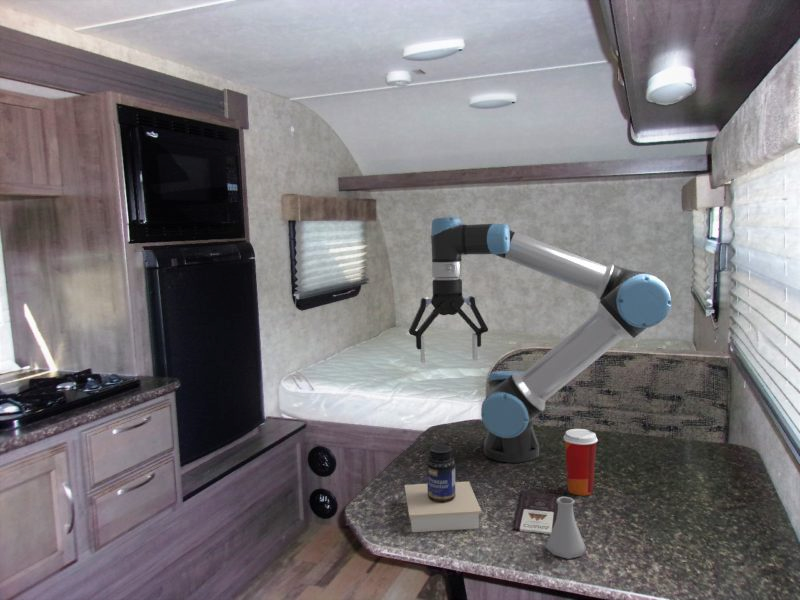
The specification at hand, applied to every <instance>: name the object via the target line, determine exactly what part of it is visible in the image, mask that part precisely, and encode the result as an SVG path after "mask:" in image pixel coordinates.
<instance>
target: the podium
mask: <svg viewBox="0 0 800 600" xmlns="http://www.w3.org/2000/svg"><path fill="white" fill-rule="evenodd" d="M404 490H405V491H404V492H405V499H406V505H407V511H408V517H409V521H410V528H411V533H425V532H427V533H428V532H439V531H440V532H441V531H458V530H473V529H474V530H477V529H480V514H482V509H481V507H480V504H479V502H478V500H477V497H476V495H475V493H474V490H473V488H472V485H471V483H470V481H455V494H456V495H455V498H454V499H453V500H452V501H448V502H435V501H432V500H430V499H429V497H428V485H427V483H417V484H416V483H415V484H404Z"/></svg>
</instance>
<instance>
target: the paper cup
mask: <svg viewBox="0 0 800 600" xmlns="http://www.w3.org/2000/svg"><path fill="white" fill-rule="evenodd" d="M563 440H564V448H565V462H566V463H565V467H566V479H567V482H566V483H567V490H568V492H569V493H570V494H573V495H575V496H579V497H580V496H581V497H582V496H583V497H586V496H587V497H588V496H590V495H592V494H593V492H594V491H593V490H594V480H595V468H596V467H595V466H596V449H597V442H599V441H598V440H599V439H598V438H597V435H596V432H593V431H591V430H589V429H585V428H571V429H568V430H566V431H565V434H564V435H563Z"/></svg>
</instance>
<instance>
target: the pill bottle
mask: <svg viewBox="0 0 800 600" xmlns="http://www.w3.org/2000/svg"><path fill="white" fill-rule="evenodd" d="M452 453H453V451H452V447H451V446H449V445H447V444H446V445H445V444H437V445H433V446H431V447H430V448H429V455H430V457H429V458H428V459H427V461H426V466H427V467H426V477H427V479H426V480H427V482H426V484H427V485H428V497H429V499H430V500H432V501H435V502H448V501H452V500H453V499H454V498H455V495H456V494H455V482H456V461H455V460H454V458H453V457H452V455H453V454H452Z"/></svg>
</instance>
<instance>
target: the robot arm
mask: <svg viewBox="0 0 800 600" xmlns="http://www.w3.org/2000/svg"><path fill="white" fill-rule="evenodd" d="M430 234H431V235H430V240H431V241H430V242H431V273H432V274H431V275H432V278H433V280H432V282H431V284H432V297H431V299H430V298H425V297H421V298H420V300H419V301H420V303H419V307H418V310H417V311H416V314H415V316H414V317H413V318H414V319H413V321H412V323H411V325H410V328H409V329H408V333H409V335H411V336H414V337H415V346H416V349H417V350H420V361H421V363H423V364H424V363H425V362H426V361H425V357H426V356H425V336H424V335H423V334H424V333H425V332H426V330H427V329H428V328H429V327H430V326H431V325H432V323H433V322H434V320H436V318H437V317H438V316H439V315H441V316H447V315H450V316H455V315H456V314H458V315H459V316H460V317H461V318H462V320H464V322H465V323H466V324H467V325H468V326H469V327H470V328H471V329H472V330H473V332H474V333H472V335H471V337H472V338H471V339H472V342H471V345H472V359H473V361H478V348H479V347H482V335H483V334H484V333H487V332H489V327H488V326H487V325H486V322H485V319H483V316H482V314H481V313H480V311H479V309H478V307H477V304H476V298H475V296H473V295H469V296H467V297H464V295H463V280H462V279H461V277H462V275H463V273H462V272H463V271H462V265H463V264H462V256H463V255H464V256H466V255H467V256H469V255H494V256H497V257H499V258H502V259H505V260H508V261H510V262H513V263H515V264H518V265H521V266H522V267H523V266H524V267H526V268H529V269H530V270H533V271H536V272H539V273H542V274H544V275H546V276H548V277H551V278H554V279H556V280H558V281H559V280H560V281H561V282H564V283H567V284H570V285H571V286H572V285H573V286H575V287H577V288H580V289H582V290H585V291H587V292H590V293H593V294H594V295H595V296H596V299H597V300H599V301H598V309H597V310H596V312H595V313H594V314H592V315H591V316H590V317H589V318H588V319H586V320H585V321H584V322H582V324H580V325H579V326H578V327H577V328H575V329H574V330H573V331H572V332H570V333H569V334H568V336H566V337H565V338H563V340H561V341H560V342H559V343H557V344H556V345H555V346H554V347H553V348H551V350H549V351H548V352H547V353H546V354H544V355H543V356H542V357H541V358H540V359H538V360H537V361H536V362H535V363H534V364H532V365H531V366H530V367H529V368H527V370H525V371H521V370H520V371H518V370H497V371H492V372H490V373H489V375H488V376H489V377H488V378H489V379H488V389H489V390H488V392H487V395H486V397H485V398H484V399H483V402H482V404H481V409H480V411H481V412H480V415H481V420H482V423H483V425H484V426H485V428H486V429H487V433H486V437H485V440H484V443H483V454H484V456H486V457H488V458H489V459H491V460H494V461H496V462H497V461H498V462H503V463H510V464H511V463H512V464H513V463H526V462H531V461H533V460H535V459H537V458H538V457H539V456H540V445H539V441H538V439H537V436H536V432H535V430H534V426H533V420H534V419H535V418H536V417H537V416H538V415H540V414H541V413H542V412H543V411H545V409H546V401H548V400H549V398H551V397H552V396H553V395H554V394H555V393H557V392H558V391H560V390H561V389H562V388H563V387H564V386H566V385H567V384H568V383H569V382H571V381H572V380H573V379H575V377H577V376H578V375H580V374H581V373H582V372H583V371H585V370H586V369H587V368H588V367H589V366H590V365H592V364H593V363H594V362H596V361H598V359H599V358H601V357H602V356H603V355H604V354H605V353H607V352H608V351H609V350H611V349H612V348H613V347H614V346H615V345H616V344H618V343H620V341H622V340H623V339H625V340H626V339H627V340H629V339H630V340H633V339H635V338H636V337H638V336H639V335H640V334H641V333H642V332H644V331H645V330H646V329H647V328H648V329H649V328H652V327H655V326H658V324H660V323H661V322H663V321H664V320H665V319H666V318H667V316H668V315H669V313H670V311H671V307H672V297H671V293H670V290H669V289H668V286H667V285H666V284H665V282H663V281H662V280H661V279H660V278H659V277H657V276H654V275H652V274H650V273H646V272H643V271H638V270H632V269H627V268H624V267H620V266H618V265H615V264H613V263H612V264H610V265H607V266H606V265H604V264H601V263H598V262H595V261H593V260H591V259H587V258H585V257H583V256H580V255H576V253H575V254H574V253H572V252H569V251H567V250H564V249H562V248H559V247H557V246H553V245H550V244H548V243H546V242H543V241H539V240H537V239H534V238H531V237H529V236H526V235H523V234H521V233H518V232H515V231H512V230H511V229H510V227H509V224H507V223H499V222H498V223H497V222H493V223H480V224H462V221H461V218H460V217H457V216H451V217H449V216H448V217H447V216H446V217H435V218H433V220H431V233H430ZM464 303H466V305H467V306H469V307H470V309H471V311H472V313H473V316H474V317H475V319H476V320H477V322H478V325H479V327H478V326H477V325H476V324H475V323H474V322H473V321H472V319H470V317H469V316H468V315H467V314H466V313H465V312H464V310H463V309H462V307H463V305H464ZM430 304H431V305H432V307H433V308H434V309H433V310H432V311H431V312H430V314H429V315H428V316H427V318H426V319H425V321H424V322H423V323H422V324H421V325H420V327H419V328H418V326H419V323H420V322H421V320H422V317H423V316H424V313H425V311H426V308H428V307H429V306H430ZM417 328H418V329H417Z"/></svg>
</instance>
